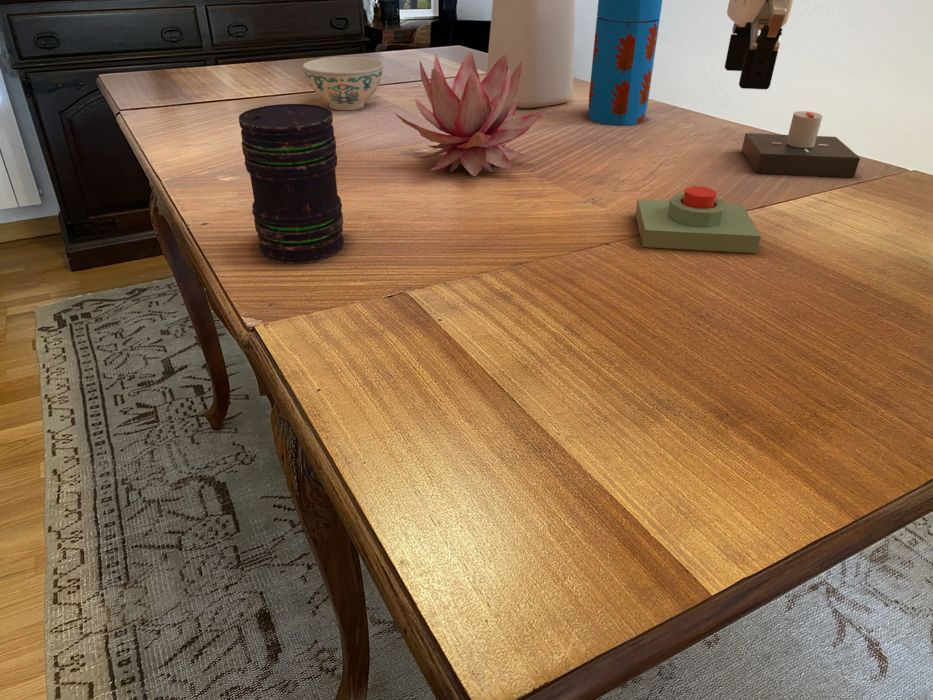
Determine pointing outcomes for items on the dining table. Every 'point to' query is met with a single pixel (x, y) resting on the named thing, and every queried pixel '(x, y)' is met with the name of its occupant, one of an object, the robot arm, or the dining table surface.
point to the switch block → (696, 226)
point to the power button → (699, 197)
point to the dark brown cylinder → (293, 181)
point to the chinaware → (344, 80)
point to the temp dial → (804, 129)
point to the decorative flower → (473, 116)
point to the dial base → (799, 156)
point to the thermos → (623, 60)
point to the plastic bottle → (535, 47)
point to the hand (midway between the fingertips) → (745, 78)
